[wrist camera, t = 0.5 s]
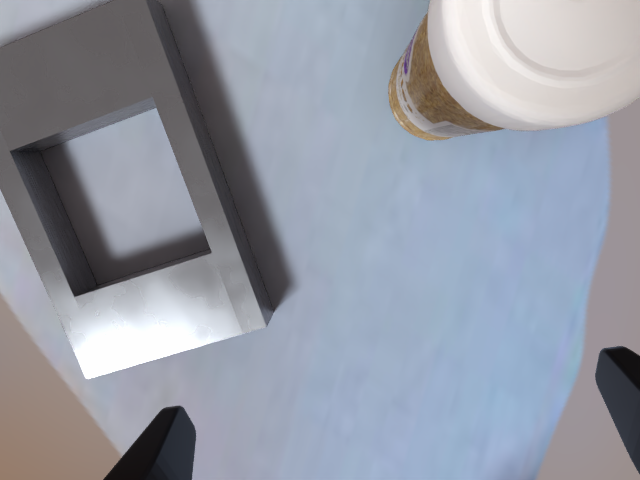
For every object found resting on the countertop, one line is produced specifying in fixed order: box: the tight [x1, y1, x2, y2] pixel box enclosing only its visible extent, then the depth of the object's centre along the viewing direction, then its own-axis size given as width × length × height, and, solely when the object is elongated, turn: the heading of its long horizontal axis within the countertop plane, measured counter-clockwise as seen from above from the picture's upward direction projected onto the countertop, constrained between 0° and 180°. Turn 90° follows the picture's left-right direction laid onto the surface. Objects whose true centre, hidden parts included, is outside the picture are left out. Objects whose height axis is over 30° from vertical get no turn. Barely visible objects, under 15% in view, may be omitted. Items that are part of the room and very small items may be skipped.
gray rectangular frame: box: [0, 0, 274, 379], centre depth 22 cm, size 16×10×2 cm, turn 18°
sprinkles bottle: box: [388, 0, 640, 140], centre depth 14 cm, size 5×5×14 cm
